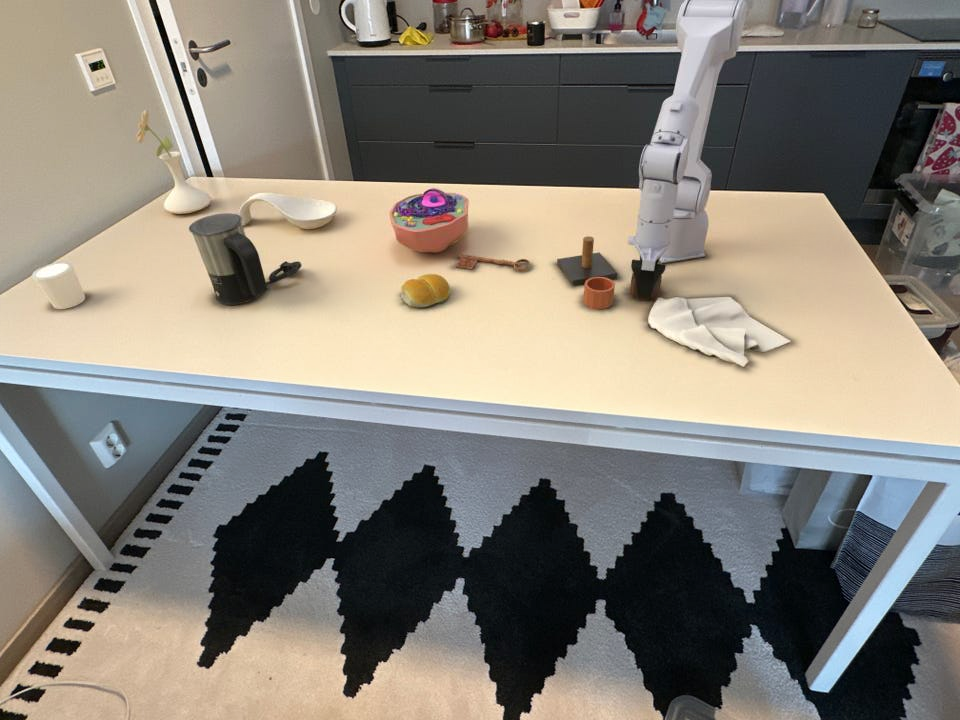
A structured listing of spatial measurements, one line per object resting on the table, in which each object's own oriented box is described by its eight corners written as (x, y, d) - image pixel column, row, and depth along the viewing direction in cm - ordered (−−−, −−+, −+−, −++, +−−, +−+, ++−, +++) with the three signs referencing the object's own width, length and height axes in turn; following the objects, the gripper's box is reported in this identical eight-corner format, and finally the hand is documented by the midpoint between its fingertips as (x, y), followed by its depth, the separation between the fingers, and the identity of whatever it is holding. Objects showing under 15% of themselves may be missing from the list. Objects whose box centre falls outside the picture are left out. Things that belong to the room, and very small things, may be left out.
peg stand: (598, 257, 118) (601, 225, 114) (617, 278, 111) (620, 245, 107) (556, 264, 117) (558, 232, 113) (572, 286, 110) (574, 252, 106)
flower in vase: (181, 199, 155) (144, 100, 139) (221, 200, 153) (187, 99, 138) (153, 220, 144) (109, 115, 129) (195, 221, 143) (156, 114, 128)
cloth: (641, 296, 106) (643, 284, 104) (767, 298, 103) (770, 286, 102) (655, 365, 90) (657, 352, 88) (805, 369, 87) (810, 357, 86)
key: (453, 268, 118) (523, 278, 113) (452, 264, 118) (523, 274, 113) (464, 253, 122) (532, 262, 117) (463, 249, 122) (532, 258, 117)
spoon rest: (345, 214, 142) (339, 185, 137) (329, 235, 133) (323, 205, 128) (254, 213, 145) (245, 185, 140) (232, 234, 136) (223, 205, 131)
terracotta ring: (606, 291, 108) (607, 274, 105) (617, 306, 104) (619, 288, 101) (579, 296, 107) (580, 279, 105) (590, 311, 103) (591, 293, 101)
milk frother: (204, 301, 112) (176, 230, 103) (256, 263, 123) (235, 196, 114) (266, 313, 108) (242, 239, 98) (313, 272, 119) (295, 203, 110)
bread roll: (457, 297, 109) (456, 279, 106) (415, 313, 105) (413, 294, 102) (436, 280, 114) (434, 262, 112) (395, 294, 110) (392, 276, 108)
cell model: (376, 260, 122) (367, 209, 115) (419, 221, 136) (413, 174, 129) (449, 272, 116) (444, 219, 109) (486, 230, 131) (484, 181, 124)
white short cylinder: (48, 314, 111) (29, 282, 107) (50, 298, 116) (32, 267, 111) (88, 304, 113) (71, 272, 109) (89, 288, 118) (72, 258, 114)
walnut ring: (651, 284, 109) (653, 267, 107) (664, 298, 105) (667, 280, 103) (625, 288, 108) (627, 271, 106) (637, 302, 104) (639, 285, 102)
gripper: (635, 198, 104) (626, 265, 112) (626, 233, 93) (618, 305, 101) (676, 200, 102) (664, 269, 110) (672, 236, 91) (660, 309, 100)
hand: (645, 286), depth 106 cm, fingers open, 7 cm apart
